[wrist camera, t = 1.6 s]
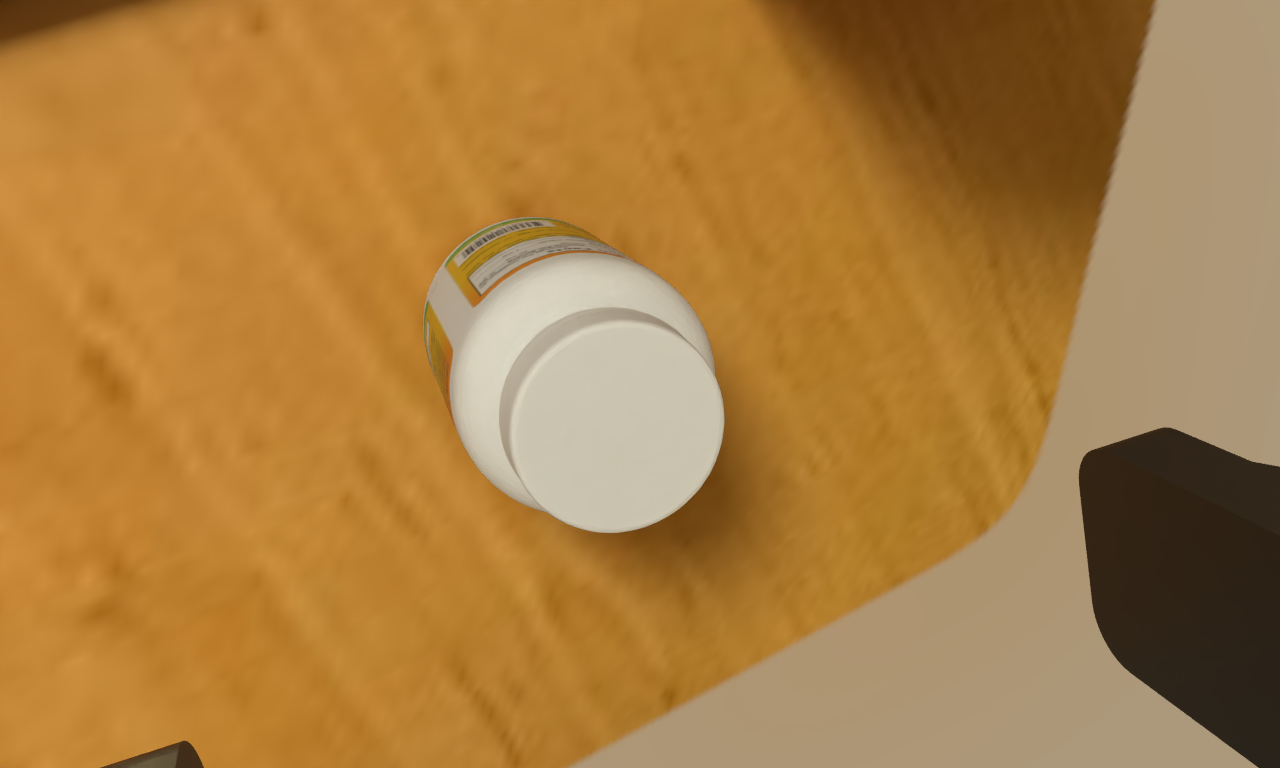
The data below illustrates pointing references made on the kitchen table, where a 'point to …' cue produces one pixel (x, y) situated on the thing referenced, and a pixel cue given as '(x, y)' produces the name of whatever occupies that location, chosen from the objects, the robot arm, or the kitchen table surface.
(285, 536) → the kitchen table surface
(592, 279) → the supplement bottle
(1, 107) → the kitchen table surface
